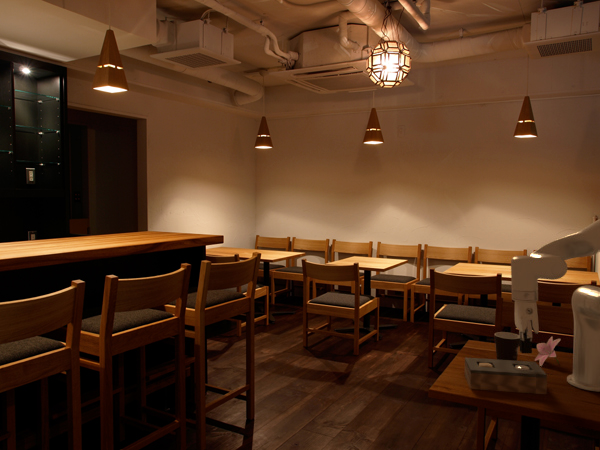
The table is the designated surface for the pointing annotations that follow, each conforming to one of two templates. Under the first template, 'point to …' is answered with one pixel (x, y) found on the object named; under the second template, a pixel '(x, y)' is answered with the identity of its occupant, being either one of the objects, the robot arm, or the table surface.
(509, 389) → the block
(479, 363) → the maple peg
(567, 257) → the robot arm
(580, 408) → the table surface
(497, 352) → the coffee mug
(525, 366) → the steel peg
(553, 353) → the lily
